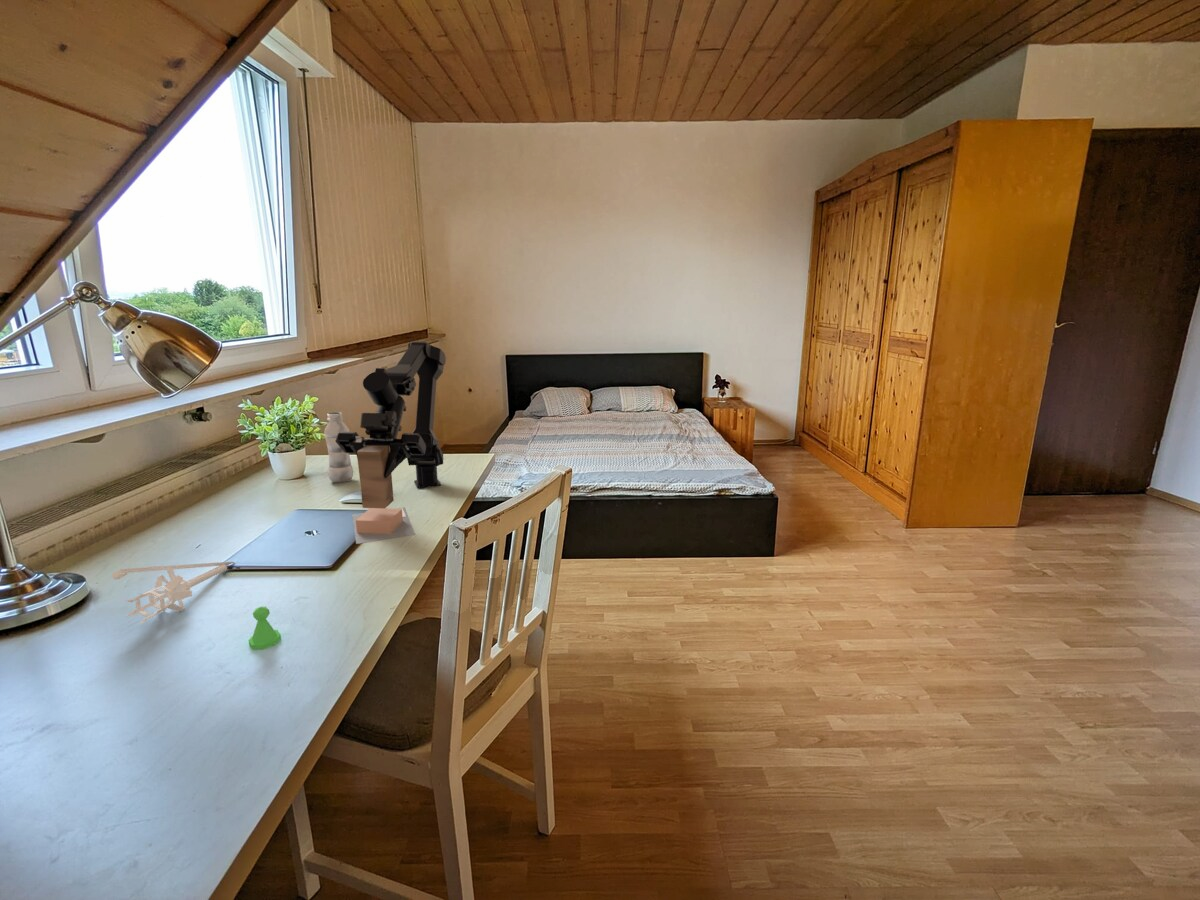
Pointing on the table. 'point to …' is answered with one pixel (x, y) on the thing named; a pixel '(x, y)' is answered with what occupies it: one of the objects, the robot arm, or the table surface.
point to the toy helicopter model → (170, 586)
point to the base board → (400, 531)
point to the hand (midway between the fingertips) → (373, 476)
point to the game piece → (263, 631)
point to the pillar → (374, 477)
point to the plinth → (379, 521)
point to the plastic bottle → (337, 450)
